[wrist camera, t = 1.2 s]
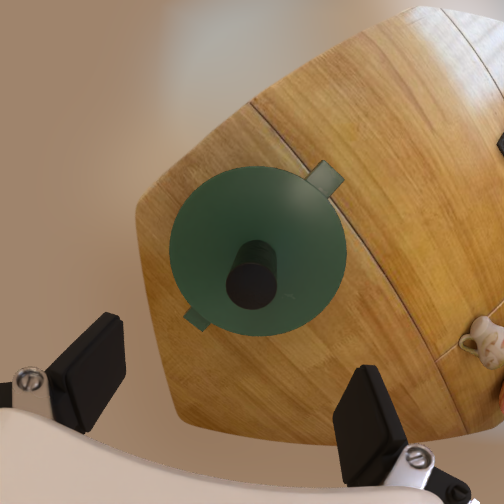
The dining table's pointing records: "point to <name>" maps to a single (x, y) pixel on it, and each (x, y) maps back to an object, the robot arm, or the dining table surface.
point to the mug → (486, 342)
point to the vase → (501, 398)
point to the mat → (501, 144)
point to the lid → (257, 251)
